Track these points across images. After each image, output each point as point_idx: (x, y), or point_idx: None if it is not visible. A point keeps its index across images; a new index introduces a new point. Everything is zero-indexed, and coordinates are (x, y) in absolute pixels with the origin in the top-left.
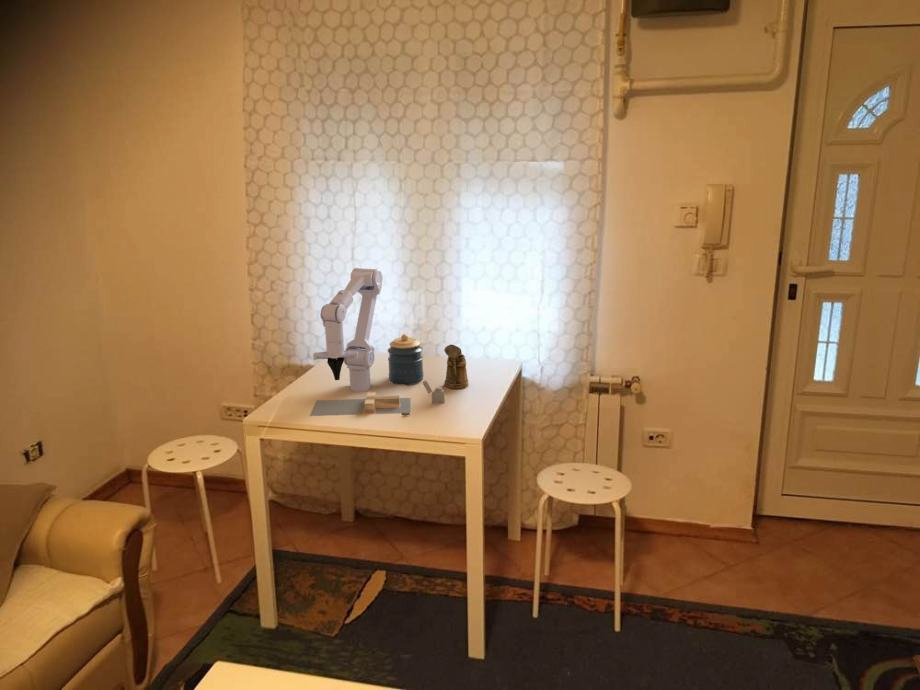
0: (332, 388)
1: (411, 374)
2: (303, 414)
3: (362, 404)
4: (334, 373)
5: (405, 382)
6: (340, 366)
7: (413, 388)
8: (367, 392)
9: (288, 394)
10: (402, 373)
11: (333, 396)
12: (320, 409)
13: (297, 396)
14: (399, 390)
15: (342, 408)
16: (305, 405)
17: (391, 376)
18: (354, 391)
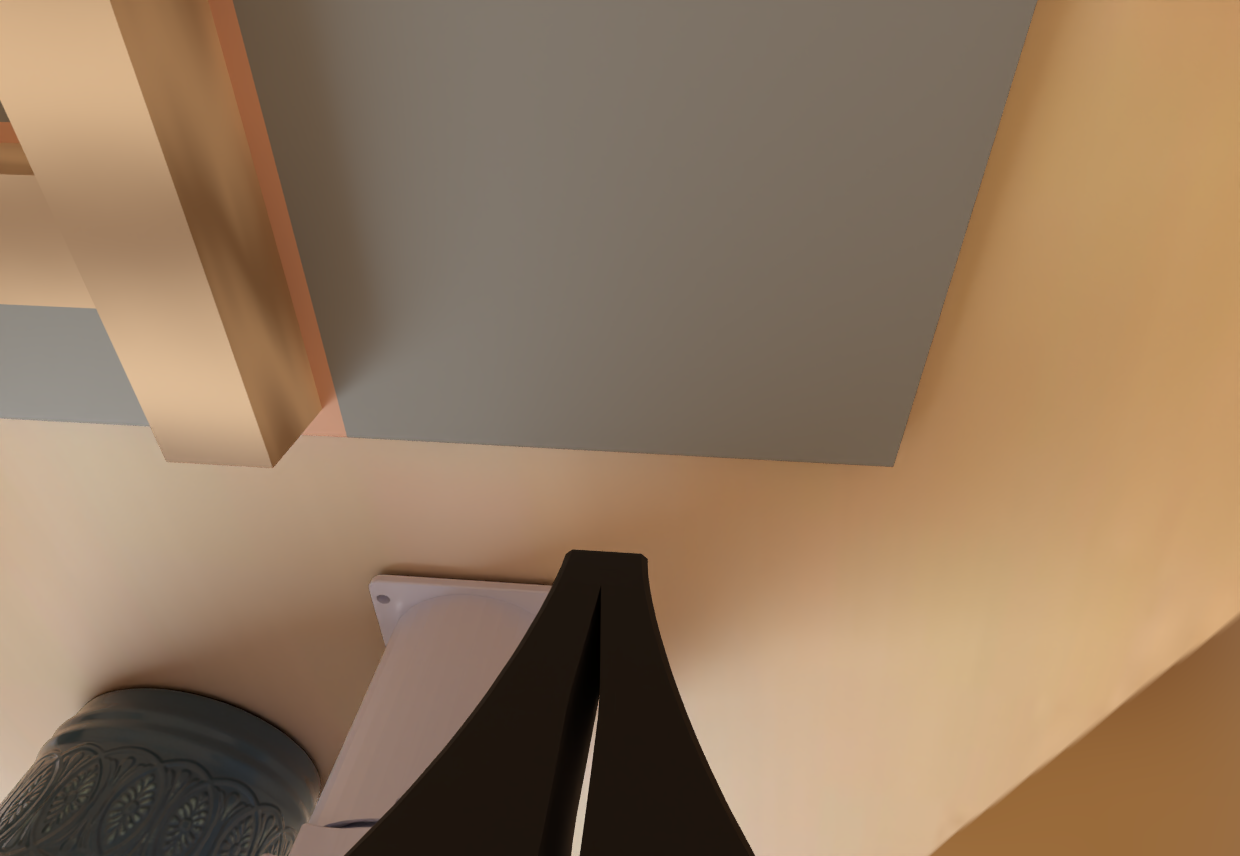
0: (725, 711)
1: (54, 767)
2: (1110, 96)
3: (336, 278)
4: (634, 661)
5: (146, 704)
6: (399, 831)
7: (68, 628)
8: (259, 441)
9: (1121, 663)
10: (113, 782)
11: (710, 575)
12: (869, 162)
13: (1049, 617)
14: (161, 610)
15: (563, 167)
16: (1017, 403)
17: (253, 778)
18: (516, 614)
